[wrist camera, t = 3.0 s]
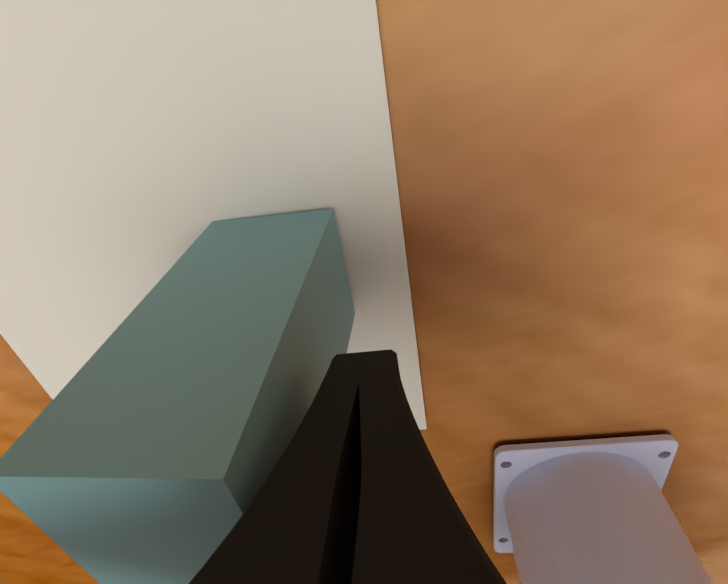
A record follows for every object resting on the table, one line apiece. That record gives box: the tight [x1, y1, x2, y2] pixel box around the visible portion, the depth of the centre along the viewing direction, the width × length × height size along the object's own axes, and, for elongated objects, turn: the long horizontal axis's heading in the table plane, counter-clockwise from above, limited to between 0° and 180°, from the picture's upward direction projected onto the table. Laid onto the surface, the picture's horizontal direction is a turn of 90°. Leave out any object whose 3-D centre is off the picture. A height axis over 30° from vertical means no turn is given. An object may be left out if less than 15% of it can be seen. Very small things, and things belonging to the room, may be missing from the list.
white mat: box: [0, 0, 427, 430], centre depth 16 cm, size 18×16×1 cm
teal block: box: [0, 209, 355, 584], centre depth 11 cm, size 4×4×9 cm
